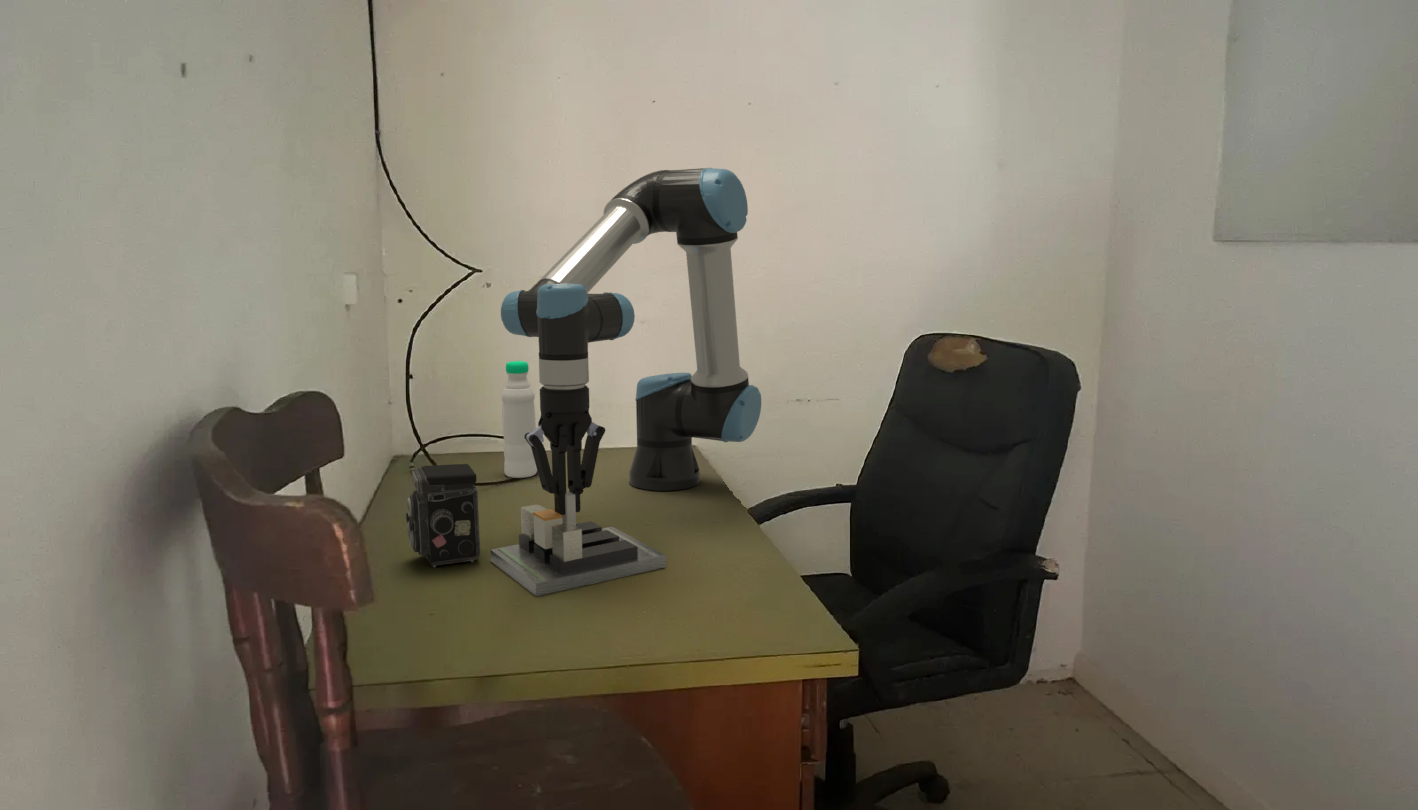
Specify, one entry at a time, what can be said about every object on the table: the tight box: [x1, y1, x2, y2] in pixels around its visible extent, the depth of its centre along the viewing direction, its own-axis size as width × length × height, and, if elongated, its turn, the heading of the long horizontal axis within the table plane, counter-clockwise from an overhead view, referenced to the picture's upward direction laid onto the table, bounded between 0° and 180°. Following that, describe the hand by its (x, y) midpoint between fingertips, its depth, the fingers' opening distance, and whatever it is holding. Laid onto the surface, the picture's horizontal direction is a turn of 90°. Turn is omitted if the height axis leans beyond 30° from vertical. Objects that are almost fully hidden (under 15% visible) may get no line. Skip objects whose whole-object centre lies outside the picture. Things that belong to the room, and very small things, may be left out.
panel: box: [490, 504, 667, 597], centre depth 149 cm, size 22×18×8 cm
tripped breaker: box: [534, 508, 562, 549], centre depth 146 cm, size 3×4×5 cm
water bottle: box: [501, 360, 538, 479], centre depth 204 cm, size 7×7×25 cm
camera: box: [405, 463, 481, 568], centre depth 151 cm, size 10×10×15 cm
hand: (568, 533), depth 148 cm, fingers closed
